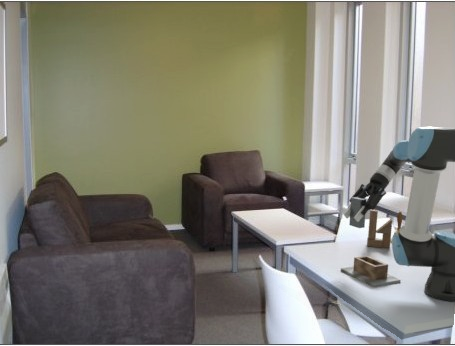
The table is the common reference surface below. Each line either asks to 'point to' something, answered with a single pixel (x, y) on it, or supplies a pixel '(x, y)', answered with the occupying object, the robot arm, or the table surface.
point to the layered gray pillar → (354, 209)
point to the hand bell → (399, 220)
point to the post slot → (370, 271)
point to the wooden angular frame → (383, 229)
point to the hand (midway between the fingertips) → (350, 217)
